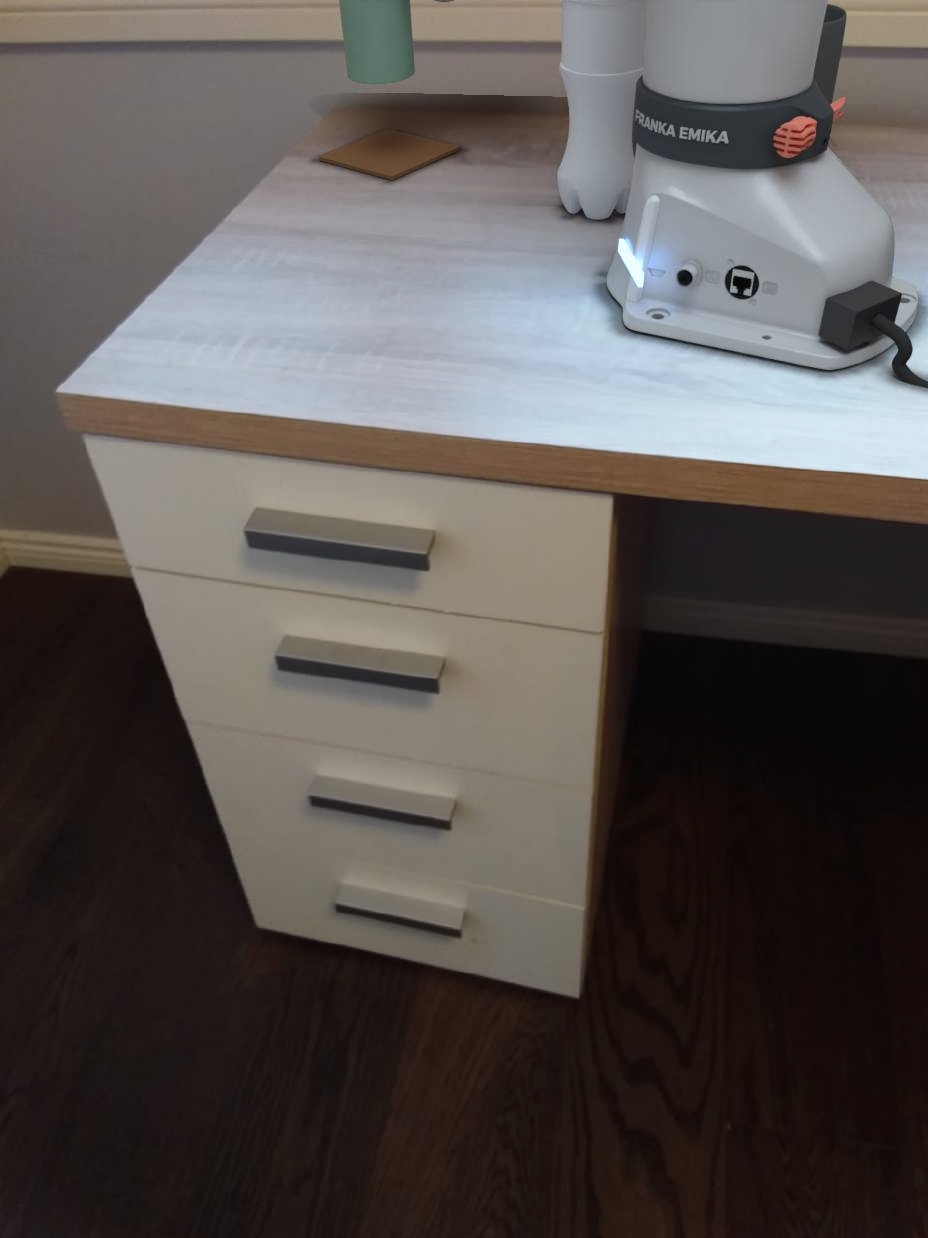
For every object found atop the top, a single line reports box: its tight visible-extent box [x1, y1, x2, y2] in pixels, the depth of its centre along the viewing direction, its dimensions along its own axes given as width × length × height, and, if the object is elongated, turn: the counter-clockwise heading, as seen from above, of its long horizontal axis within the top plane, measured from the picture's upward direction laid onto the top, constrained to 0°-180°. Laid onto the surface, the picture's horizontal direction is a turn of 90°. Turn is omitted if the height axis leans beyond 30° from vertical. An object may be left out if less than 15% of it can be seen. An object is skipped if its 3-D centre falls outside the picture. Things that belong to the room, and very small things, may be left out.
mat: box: [318, 128, 461, 181], centre depth 101 cm, size 10×10×1 cm
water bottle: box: [556, 0, 648, 221], centre depth 80 cm, size 7×7×25 cm
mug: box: [813, 3, 848, 104], centre depth 94 cm, size 14×9×12 cm
